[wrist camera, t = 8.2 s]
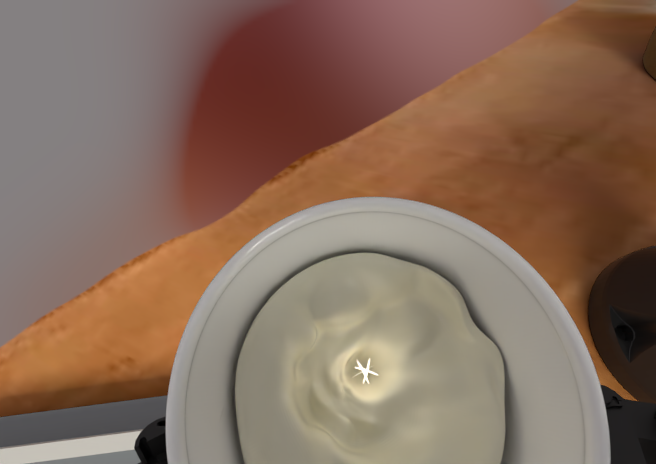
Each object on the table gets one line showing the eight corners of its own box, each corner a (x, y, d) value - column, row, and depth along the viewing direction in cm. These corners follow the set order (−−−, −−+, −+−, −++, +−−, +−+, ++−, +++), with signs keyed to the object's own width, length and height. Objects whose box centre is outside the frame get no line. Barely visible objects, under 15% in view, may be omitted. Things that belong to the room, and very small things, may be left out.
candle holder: (394, 263, 21) (435, 140, 10) (497, 426, 18) (732, 507, 7) (246, 342, 20) (116, 299, 9) (325, 533, 17) (265, 846, 6)
